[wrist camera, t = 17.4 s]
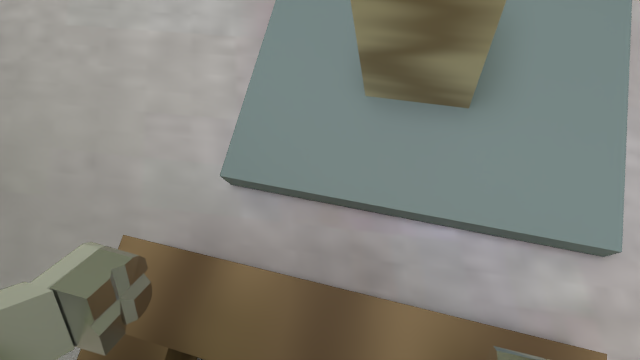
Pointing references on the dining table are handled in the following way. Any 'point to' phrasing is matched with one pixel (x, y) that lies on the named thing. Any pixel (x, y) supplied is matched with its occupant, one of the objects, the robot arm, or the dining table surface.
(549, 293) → the dining table surface
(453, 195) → the slate pad
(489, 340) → the pocket block
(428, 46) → the maple peg
